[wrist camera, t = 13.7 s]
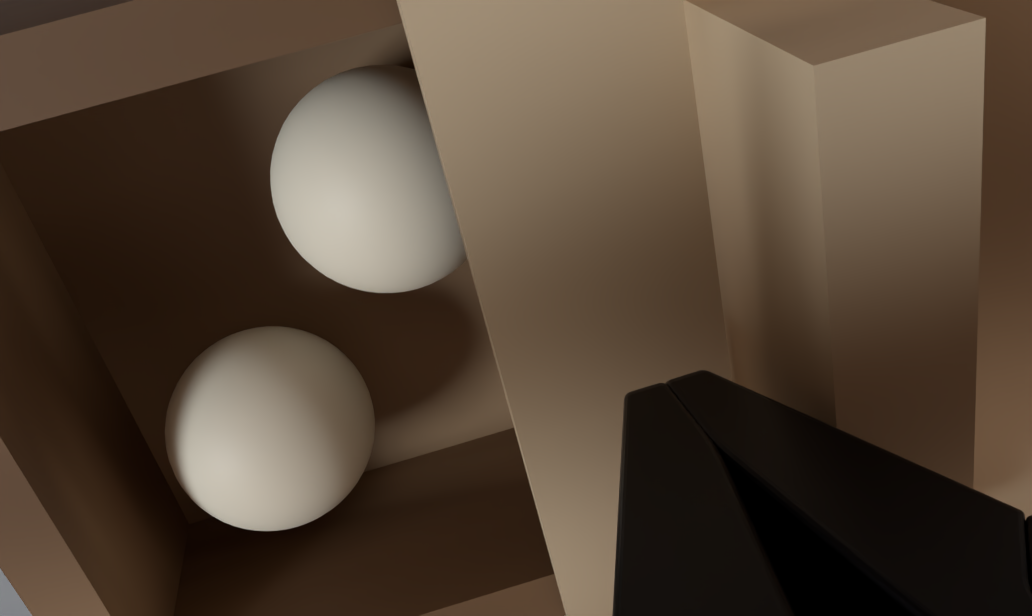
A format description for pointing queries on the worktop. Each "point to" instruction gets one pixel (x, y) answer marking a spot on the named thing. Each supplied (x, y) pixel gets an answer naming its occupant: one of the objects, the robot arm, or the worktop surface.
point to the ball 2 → (366, 183)
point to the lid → (741, 225)
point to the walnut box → (221, 330)
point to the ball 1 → (269, 428)
